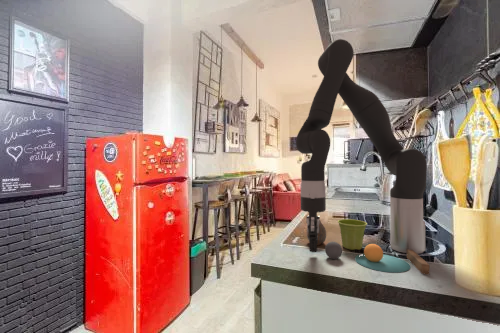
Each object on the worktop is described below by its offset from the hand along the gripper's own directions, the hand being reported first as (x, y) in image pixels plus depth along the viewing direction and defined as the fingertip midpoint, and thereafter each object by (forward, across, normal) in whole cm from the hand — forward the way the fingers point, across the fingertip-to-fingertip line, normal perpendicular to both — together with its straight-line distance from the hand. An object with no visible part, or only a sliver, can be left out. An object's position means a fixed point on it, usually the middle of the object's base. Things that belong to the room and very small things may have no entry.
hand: (313, 251), depth 77 cm
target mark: (+2, 0, +19) cm, 19 cm away
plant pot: (+2, -12, +13) cm, 18 cm away
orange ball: (-1, 0, +17) cm, 17 cm away
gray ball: (-1, 0, +6) cm, 6 cm away
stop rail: (+2, 0, +28) cm, 28 cm away
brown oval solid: (+2, -14, +1) cm, 14 cm away
